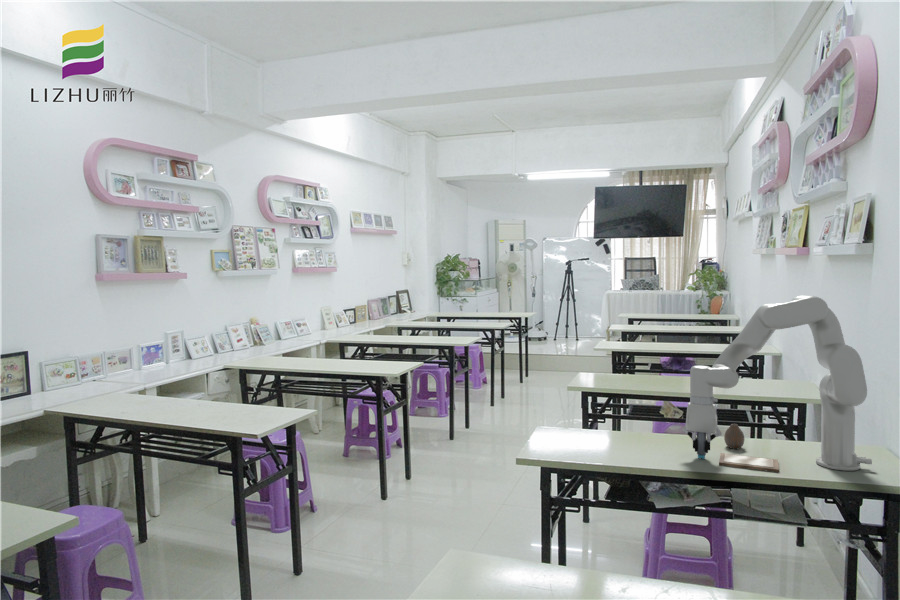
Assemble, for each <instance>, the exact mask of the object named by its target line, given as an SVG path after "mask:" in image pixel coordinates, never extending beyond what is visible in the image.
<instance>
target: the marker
mask: <svg viewBox="0 0 900 600" xmlns="http://www.w3.org/2000/svg"><path fill="white" fill-rule="evenodd" d="M696 437H697V451H696V454H697V459H699V458H702V459H701V460H705V459H706V455H707V453H706V452H705V442H706V439H707V435H706V433H700V432H697V433H696ZM704 458H705V459H704Z"/></svg>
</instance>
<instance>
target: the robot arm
mask: <svg viewBox="0 0 900 600" xmlns="http://www.w3.org/2000/svg"><path fill="white" fill-rule="evenodd" d="M803 325H804V326H805V325H808V326H809V328H810V330H811V333H812V336H813V344H814V348H815V352H816V358H817V362H818V363H819V365H821V367H823V368H824V369H827V370H829V373H828V374H826V375H824V376H823V377H822V378H821V379H820V383H819V389H818V390H819V397H820V405H821V419H820V420H821V421H820V422H821V428H820V429H821V430H820V431H821V432H820V433H821V436H820V437H821V438H820V440H821V445H820V446H821V447H820V449H821V450H820V452H821V453H820V456H819V457H816V458H815V464H817V465H818V466H821V467H824V468H827V469H832V470H837V471H846V472H847V471H848V472H849V471H858V470H860V469H861V464H864V465H870V466H871V465H872V464H873V459H872V458H868V457H866V456H859V455H857V454H856V452H855V451H856V450H855V449H856V448H855V446H856V445H855V441H856V436H855V435H856V431H855V430H856V412H855V411H856V409H855V407H857V406H858V407H859V406H860V405H862V404H863V403H864V402H865V401H866V400H867V396H868V387H867V385H868V384H867V380H866V376H865V370H864V364H863V362H862V360H863V359H862V358H861V356H860V354H859V352H858V351H857V350H856V349H855V348H854V347H852V346H850V345H848V344H846V342H845V339H844V334H843V331H842V327H841V323H840V321H839V319H838V317H837V316H836V314H835V313H834V311H832V309H830V308H829V305H828V303H827V302H826V301H825V300H824V299H823V298H821V297H818V296H814V295H798V296H794V297H793V298H792V299H790V301H788V302H783V303H765V304H762V305H760V306H759V307H758V308H757V309H756V310H755V312H754V314H752V316H751V317H750V319H749V320H748V322H747V323H746V324H745V326H744V327H743V328H742V330H740V333H739V334H738V335H737V336H736V337H735V338H734V340H733V341H731V342H730V344H728V345H727V347H726V348H725V349H724V350H723V351H722V352H721V353H720V355H719V356H718V357H717V358H716V360H715V361H714V363H713V364H712V366H709V365H693V366H691V368H690V370H689V372H690V373H689V377H690V379H689V380H690V381H689V386H690V387H689V393H690V395H689V400H690V401H689V402H687V408H686V416H685V417H686V419H685V424H684V425H683V427H682V430H681V432H683V433H684V434H686V435H688V437H689V438H691V441H692V449H694V452H696V453H697V432H700V433H706V442H705V452H706V454H708V453H709V451H711V442H712V441H713V440H714V439H716V438H718V437H720V436H722V431H721V429H720V427H719V426H718V413H717V407H716V404H714V403H718V398H716V397H714V387H715V388H719V389H726V390H727V389H732V388H734V387H736V386H737V385H738V383H739V378H740V376H739V373H738V372H737V369H738V367H740V365H741V364H742V363H743V362H744V361H745V360H747V359H748V358H749V357H752V356H754V355H756V354H757V353H759V352H760V351H761V350H762V349H763V347H764V346H765V345H766V343H767V342H768V340H770V338H771V337H772V335H773V334H774V333H775V331H776V330H784V329H791V328H795V327H799V326H800V327H801V326H803Z"/></svg>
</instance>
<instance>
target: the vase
mask: <svg viewBox="0 0 900 600" xmlns="http://www.w3.org/2000/svg"><path fill="white" fill-rule="evenodd" d="M723 438H724V443H725V445H726V446H727V448H729V447H731V448H730V449H733V448H739V449H741V448H742V447H743V445H744V443H745V435H744V432H743V431H742V429H741V428H740V426H739V424H737V423H731V424H730V426H729V427H727V429H726V430H725V432H724V437H723Z"/></svg>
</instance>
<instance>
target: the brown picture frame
mask: <svg viewBox="0 0 900 600" xmlns="http://www.w3.org/2000/svg"><path fill="white" fill-rule="evenodd" d="M722 465H725V466H724V467H730V466H733V467H732V468H738V467H739V469H746V468H749V469H748V470H754V469H758V470H757V471H762V470H767V471H766V472H770V471H774V472H773V473H778V472H780V467H779V459H778V458H777V459H774V458H769V457H767V458H765V457H757V456H749V455H740V454H733V453H724V452H723V453H722V452H720V455H719V460H718V466H722Z"/></svg>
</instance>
